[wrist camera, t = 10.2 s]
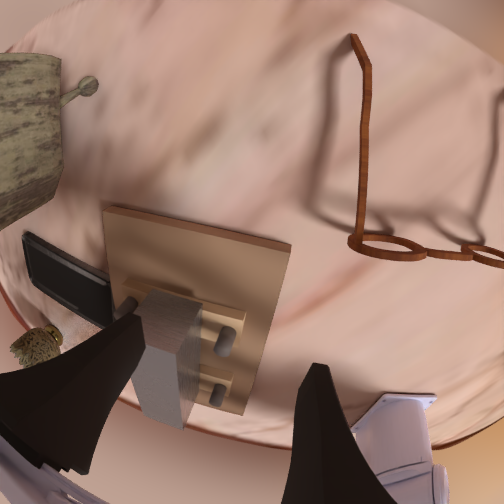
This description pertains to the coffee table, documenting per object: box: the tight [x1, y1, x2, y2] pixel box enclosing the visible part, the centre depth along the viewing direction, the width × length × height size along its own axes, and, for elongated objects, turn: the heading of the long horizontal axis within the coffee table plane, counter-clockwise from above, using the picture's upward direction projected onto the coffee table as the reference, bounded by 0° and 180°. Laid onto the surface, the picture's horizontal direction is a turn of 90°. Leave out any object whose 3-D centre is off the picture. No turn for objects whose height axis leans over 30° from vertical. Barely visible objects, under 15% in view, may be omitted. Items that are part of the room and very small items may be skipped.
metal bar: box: [131, 289, 203, 430], centre depth 20 cm, size 12×4×5 cm, turn 171°
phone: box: [22, 231, 116, 329], centre depth 25 cm, size 8×1×15 cm
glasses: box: [347, 34, 504, 269], centre depth 11 cm, size 13×13×5 cm
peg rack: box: [102, 206, 291, 416], centre depth 22 cm, size 22×14×4 cm, turn 171°
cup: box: [10, 325, 63, 369], centre depth 28 cm, size 8×7×8 cm
